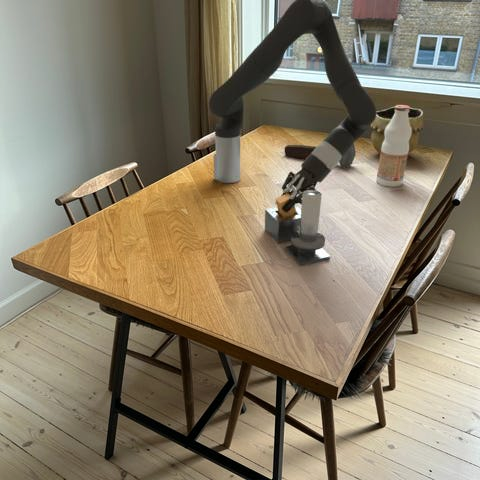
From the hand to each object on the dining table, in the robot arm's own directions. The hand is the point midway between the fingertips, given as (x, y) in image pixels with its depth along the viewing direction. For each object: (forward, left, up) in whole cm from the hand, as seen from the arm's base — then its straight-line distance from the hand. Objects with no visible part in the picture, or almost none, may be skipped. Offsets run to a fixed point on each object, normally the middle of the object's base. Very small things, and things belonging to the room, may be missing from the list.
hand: (280, 207), depth 125 cm
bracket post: (+6, -3, -9) cm, 11 cm away
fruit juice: (+20, +57, -9) cm, 61 cm away
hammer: (-11, +66, -9) cm, 68 cm away
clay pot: (+15, +87, -9) cm, 88 cm away
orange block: (+2, +2, -5) cm, 6 cm away
